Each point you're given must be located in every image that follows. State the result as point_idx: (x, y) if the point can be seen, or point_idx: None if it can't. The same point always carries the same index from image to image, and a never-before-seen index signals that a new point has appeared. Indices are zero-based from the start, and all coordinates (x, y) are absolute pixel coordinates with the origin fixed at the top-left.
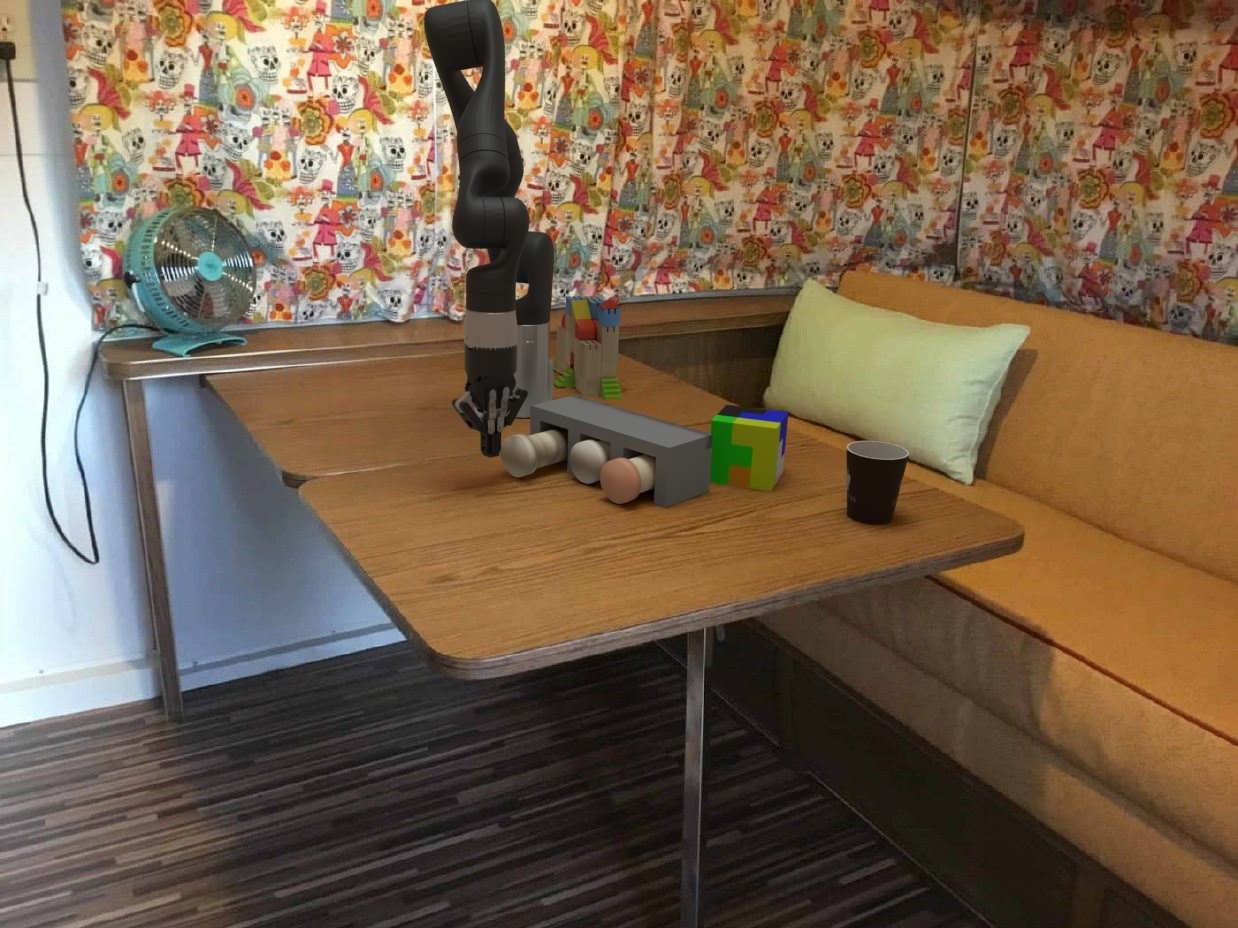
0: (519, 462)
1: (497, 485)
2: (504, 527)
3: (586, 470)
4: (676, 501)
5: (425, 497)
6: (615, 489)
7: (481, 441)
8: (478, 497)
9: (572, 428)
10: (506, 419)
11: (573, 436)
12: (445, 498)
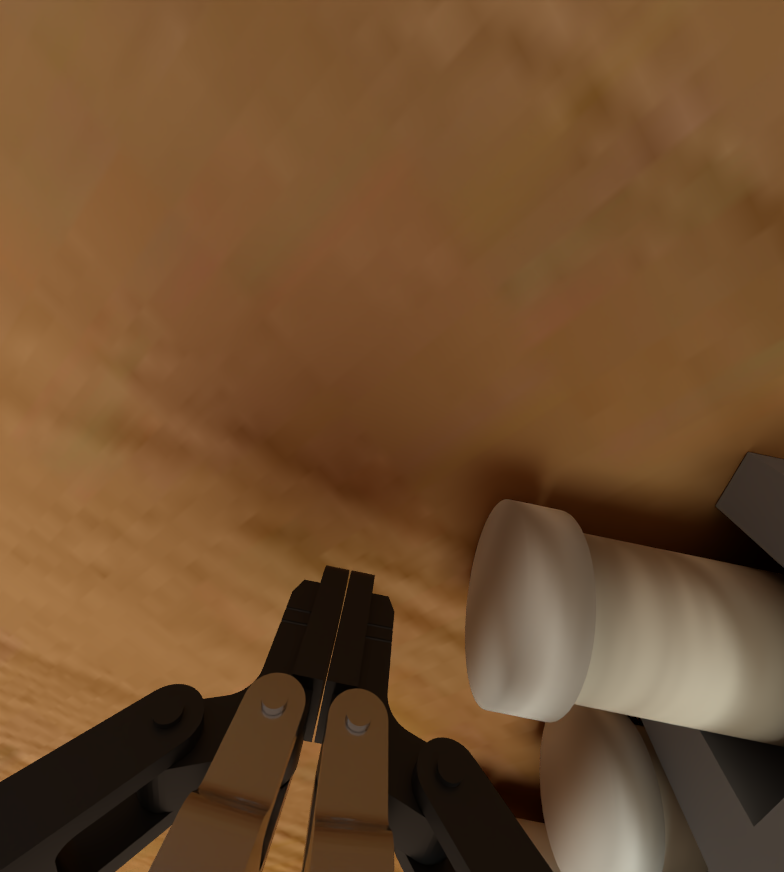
0: (479, 604)
1: (381, 522)
2: (153, 684)
3: (559, 761)
4: None
5: (108, 401)
6: None
7: (277, 636)
8: (249, 536)
9: (745, 859)
10: (399, 853)
11: (714, 813)
12: (160, 462)
